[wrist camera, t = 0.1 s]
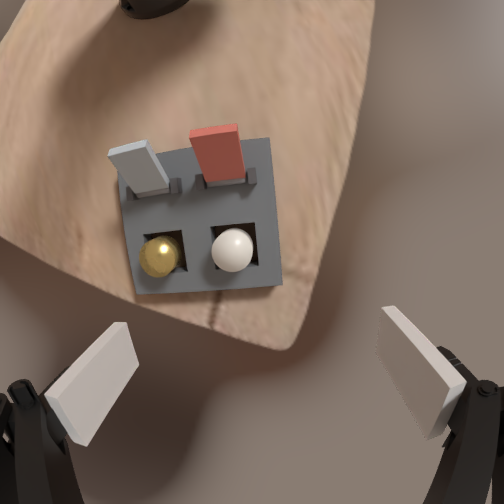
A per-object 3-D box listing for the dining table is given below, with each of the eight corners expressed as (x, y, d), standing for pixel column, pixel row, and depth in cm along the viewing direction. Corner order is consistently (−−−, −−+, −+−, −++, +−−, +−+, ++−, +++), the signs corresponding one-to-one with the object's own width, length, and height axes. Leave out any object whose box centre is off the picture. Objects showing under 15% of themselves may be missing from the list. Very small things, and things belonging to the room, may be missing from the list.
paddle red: (208, 180, 35) (190, 129, 27) (246, 175, 35) (236, 122, 26) (208, 189, 35) (188, 139, 26) (246, 185, 35) (237, 132, 26)
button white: (214, 229, 37) (209, 234, 33) (251, 226, 36) (250, 230, 33) (218, 265, 38) (214, 273, 34) (255, 262, 38) (254, 270, 34)
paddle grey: (140, 190, 36) (110, 147, 27) (173, 185, 36) (147, 138, 27) (139, 200, 35) (107, 157, 27) (171, 194, 35) (145, 148, 26)
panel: (125, 164, 38) (110, 161, 33) (268, 141, 37) (269, 134, 32) (144, 287, 42) (131, 299, 38) (281, 278, 41) (283, 290, 36)
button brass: (146, 237, 37) (136, 242, 34) (178, 233, 37) (170, 238, 34) (152, 271, 38) (142, 278, 35) (184, 268, 38) (176, 276, 35)
